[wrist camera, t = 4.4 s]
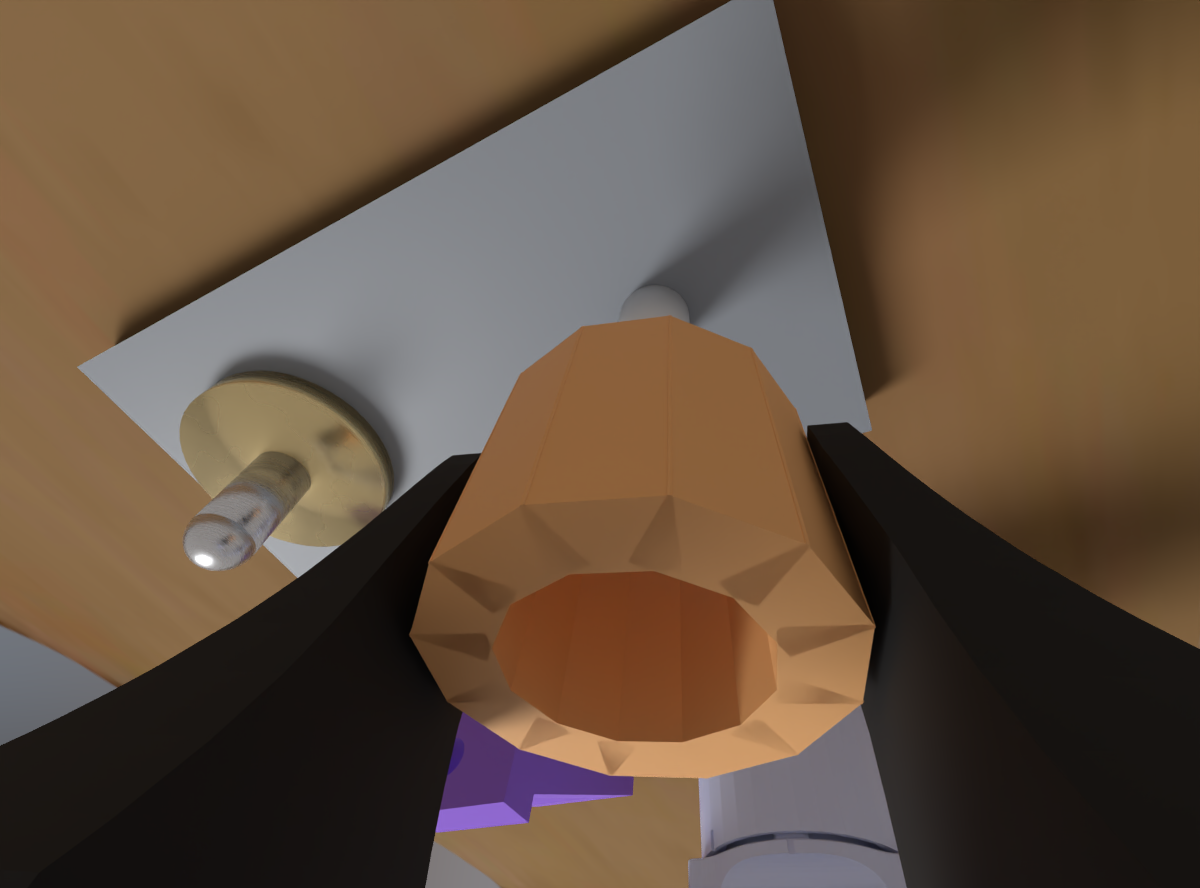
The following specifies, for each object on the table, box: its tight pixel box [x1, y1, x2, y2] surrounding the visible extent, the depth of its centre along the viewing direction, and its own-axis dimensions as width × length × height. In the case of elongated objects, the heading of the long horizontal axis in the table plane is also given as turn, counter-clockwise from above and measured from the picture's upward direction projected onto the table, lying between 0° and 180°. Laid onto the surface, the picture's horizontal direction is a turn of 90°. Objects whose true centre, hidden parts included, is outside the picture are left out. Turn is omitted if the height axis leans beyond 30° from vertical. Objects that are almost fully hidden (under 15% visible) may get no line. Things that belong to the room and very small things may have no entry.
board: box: [78, 0, 872, 578], centre depth 17 cm, size 24×12×5 cm, turn 115°
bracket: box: [436, 712, 634, 832], centre depth 31 cm, size 12×7×7 cm, turn 28°
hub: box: [179, 371, 394, 571], centre depth 18 cm, size 7×7×5 cm
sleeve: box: [409, 315, 876, 779], centre depth 9 cm, size 5×5×4 cm
